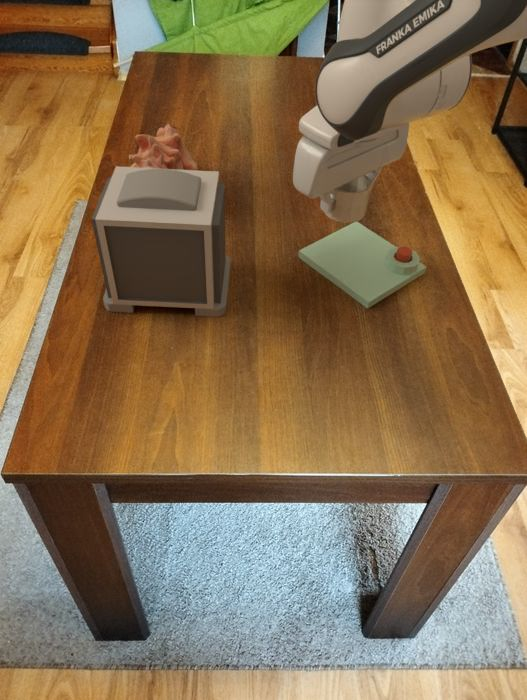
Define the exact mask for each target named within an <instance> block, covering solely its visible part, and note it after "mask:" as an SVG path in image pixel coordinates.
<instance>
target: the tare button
mask: <svg viewBox="0 0 527 700" xmlns="http://www.w3.org/2000/svg"><path fill="white" fill-rule="evenodd" d="M398 247H399V248H398V249H397V253H396V257H395V258H396V260H397V261H399V262H403V263H408V262H409V261H410V259H411V255H412V250H413V249H411V248H409V247H407V246H398Z"/></svg>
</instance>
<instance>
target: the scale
mask: <svg viewBox="0 0 527 700" xmlns="http://www.w3.org/2000/svg"><path fill="white" fill-rule="evenodd" d="M399 247H400V246H396V245H394V244H392V243H391V242H390V241H388V240H386V239H385V238H383V237H382V236H380V235H379V234H378V233H376V232H374V231H372V230H371V229H369V228H367V227H366V226H365V225H363V224H362V223H360V222H358V221H356V222H351V223H349V224H348V225H345V226H344V227H342V228H340V229H337V230H336V231H335V232H332V233H330V234H328V235H327V236H324V237H323V238H320V239H318V240H317V241H315V242H313V243H311V244H309V245H307V246H305V247H303V248H300V249H299V250H298V255H297V256H298V257H297V258H299V259H300V260H301V261H302V262H304V263H305V264H307V265H308V266H309V267H311V268H312V270H313V269H314V270H315V271H316V272H317V273H319V274H320V275H321V276H323V277H324V278H326V279H327V280H328V281H329V282H331V283H332V284H333V285H335V286H336V287H337V288H338V289H340V290H342V291H343V292H344V293H346V294H347V295H348V296H350V297H351V298H352V299H354V300H355V301H356V302H358V303H359V304H361V306H363V307H365V308H366V309H370V308H372V306H374V305H376V304H377V303H379V302H381V301H382V300H384V299H386V298H387V297H389V296H390V295H392V294H394V293H395V292H397V291H398V290H400V289H402V288H404V287H405V286H408V284H410V283H411V282H413V281H414V280H416V279H418V278H419V277H422V276H423V275H425V274H426V271H427V268H428V266H426V265H425V264H423V263H422V262H420V260H421V257H420V256H419V254H418V252H416V251H415V250H413V249H411V250H412V255H411V259H410V261H409V262H408V263H403V262H399V261H397V260H396V258H395V257H396V253H397V249H398V248H399Z"/></svg>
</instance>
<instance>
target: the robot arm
mask: <svg viewBox="0 0 527 700" xmlns="http://www.w3.org/2000/svg"><path fill="white" fill-rule="evenodd" d="M526 39H527V0H344V1H343V4H342V9H341V14H340V19H339V25H338V31H337V36H336V42H335V43H334V44H333V45H332V46H331V47H330V48H329V50H328V52H327V53H326V55H325V57H324V59H323V61H322V62H321V65H320V67H319V70H318V73H317V76H316V81H315V89H314V90H315V92H314V93H315V100H316V101H315V102H316V105H315V106H314V107H313V108H311V109H310V110H308V111H307V112H306V113H305V114H304V115H303V116H302V117H300V119H299V122H298V132H299V133H300V134H302V135H303V136H302V137H301V138H300V140H299V141H298V143H297V146H296V149H295V153H294V161H293V162H294V163H293V170H292V185H293V186H294V188H295V189H296V190H297V192H299V193H300V194H302V195H303V196H305V197H306V198H308V199H310V200H311V199H316V198H318V197H319V199H320V203H319V208H320V211H322V212H323V213H324V212H325V213H329V212H331V211H333V210H335V205H336V200H334V199H332V198H331V196H330V194H333V191H334V189H335V188H337V187H340V186H342V185H344V184H346V183H348V182H350V181H353V180H355V179H357V178H359V177H361V176H363V175H366V176H368V178H369V179H370V180H371V185H372V186H371V191H370V193H372V191H373V187H374V184H375V182H376V180H377V179H378V178H379V176H380V174H381V173H382V169H383V167H385V166H387V165H389V164H391V163H394V162H396V161H398V160H400V159H401V158H402V157H403V155H404V153H405V151H406V149H407V144H408V137H409V130H410V123H412V122H416V121H419V120H421V119H422V120H423V119H426V118H429V117H433V116H436V115H440V114H443V113H445V112H447V111H450V110H452V109H453V108H455V107H456V106H458V104H460V103H461V101H462V100H463V98H464V96H465V95H466V93H467V91H468V88H469V86H470V83H471V79H472V73H473V57H472V54H474V53H478V52H479V51H483V50H485V49H489V48H492V47H496V46H500V45H503V44H507V43H512V42H515V41H520V40H521V41H522V40H526ZM325 213H324V214H325Z"/></svg>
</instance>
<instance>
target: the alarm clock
mask: <svg viewBox="0 0 527 700" xmlns="http://www.w3.org/2000/svg"><path fill="white" fill-rule="evenodd" d="M225 195H226V185H225V183H224V182H222V181H220V171H215V170H198V171H197V170H177V169H158V168H138V167H130V166H118V165H117V166H116V165H115V168H114V170H113V172H112V175H111V176H109V177H108V178H107V179H106V181H105V184H104V186H103V189H102V191H101V193H100V196H99V199H98V202H97V204H96V206H95V210H94V211H93V213H92V216H91V223H92V228H93V233H94V237H95V243H96V247H97V252H98V256H99V260H100V264H101V271H102V274H103V279H104V284H105V291H104V294H103V296H102V301H103V305H104V308H105V310H106V311H108V312H110V313H129V314H131V313H132V314H133V313H134V311H135V308H136V306H140V307H141V306H142V307H164V308H183V309H184V308H185V309H194V316H196V317H214V318H220V317H223V316H224V315H225V314H226V313H227V305H228V297H229V296H228V294H229V287H230V278H231V276H230V275H231V267H232V258H231V257H230V255H228V254H226V196H225Z"/></svg>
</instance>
